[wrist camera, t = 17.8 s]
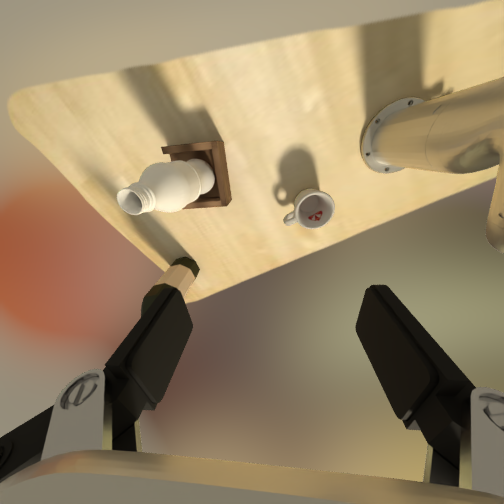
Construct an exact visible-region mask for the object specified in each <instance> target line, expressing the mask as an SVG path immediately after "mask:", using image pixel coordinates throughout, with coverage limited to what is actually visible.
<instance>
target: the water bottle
mask: <svg viewBox="0 0 504 504" xmlns="http://www.w3.org/2000/svg"><path fill="white" fill-rule="evenodd" d="M214 182H215V176H214V174H213V170H212V167H211V166H210V165H209V164H208V163H207V162H205V161H203V160H201V159H190V160H188V161H187V162H185V161H181V160H178V161H172V162H168V163H163V162H160V163H155V164H152V165H150V166H149V167H147V168H146V169H145V170H144V172H143V173H142V175H141V177H140V179H139V182H137V183H133V184H131V185H130V186H129V187H127V188H123V189H122V190H120V191H119V192H118V193H117V201H118V204H119V205H120V207H121V208H122V209H123V210H124V211H125V212H127V213H129V214H131V215H138V214H141V213H143V212H150V211H152V210H153V209H155V210H158V211H162V212H176V211H179V210H181V209H183V208H184V207H185V206H186V205H187V204H189V203H191V202H193V201H195V200H196V199H197V198H198V197H199V195H200V194H205V193H207V192H208V191H210V190H211V188H212V187H213V185H214Z"/></svg>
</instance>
